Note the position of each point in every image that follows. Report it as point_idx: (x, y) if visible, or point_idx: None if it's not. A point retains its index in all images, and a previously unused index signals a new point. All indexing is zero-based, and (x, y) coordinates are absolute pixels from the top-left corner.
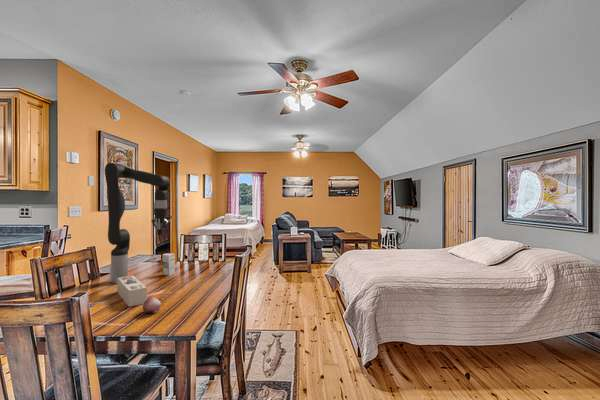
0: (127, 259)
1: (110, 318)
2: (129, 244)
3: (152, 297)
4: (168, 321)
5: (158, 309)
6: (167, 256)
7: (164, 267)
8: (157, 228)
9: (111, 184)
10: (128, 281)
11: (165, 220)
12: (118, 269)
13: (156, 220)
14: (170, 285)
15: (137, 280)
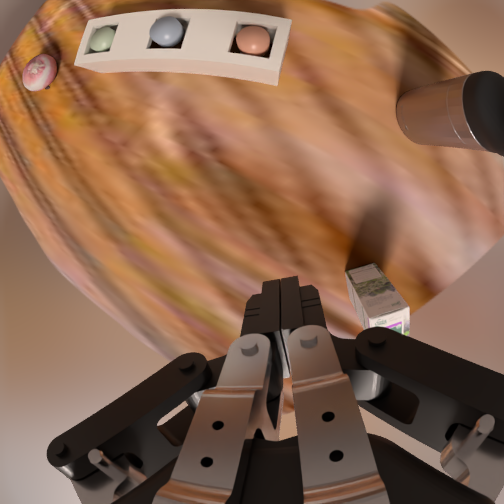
0: (456, 135)
1: (85, 3)
2: None
3: (28, 72)
4: (7, 94)
5: (47, 88)
6: (375, 312)
7: (375, 279)
8: (301, 333)
9: None
10: (159, 20)
11: (80, 488)
12: (426, 91)
13: (331, 501)
14: (210, 200)
15: (175, 55)
